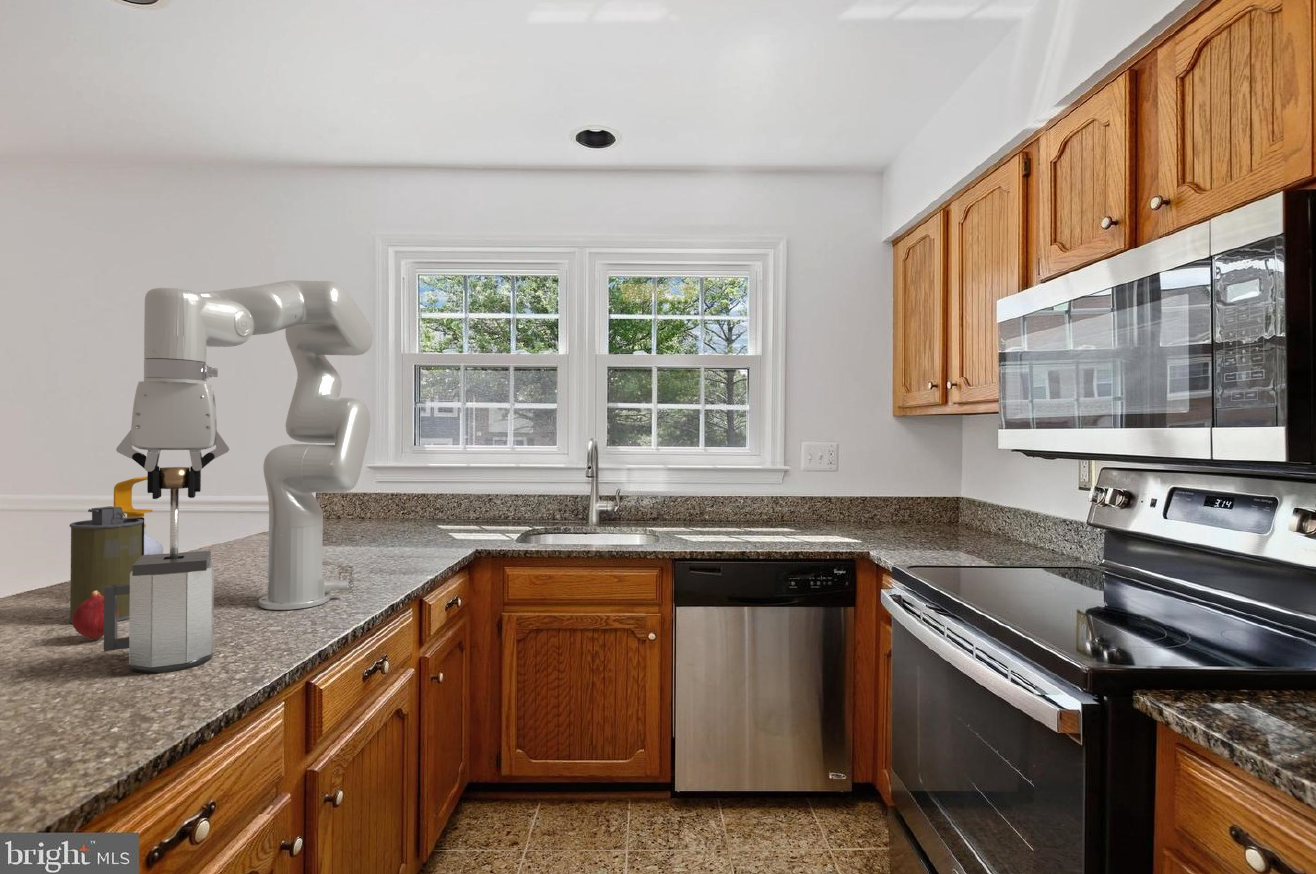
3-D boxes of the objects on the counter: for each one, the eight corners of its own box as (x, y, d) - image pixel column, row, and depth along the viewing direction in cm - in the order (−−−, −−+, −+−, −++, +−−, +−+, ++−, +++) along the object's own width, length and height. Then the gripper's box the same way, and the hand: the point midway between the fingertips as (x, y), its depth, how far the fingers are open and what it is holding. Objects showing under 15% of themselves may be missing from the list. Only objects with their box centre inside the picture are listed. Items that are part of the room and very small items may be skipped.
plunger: (202, 591, 104) (203, 466, 104) (198, 601, 98) (199, 468, 98) (149, 596, 101) (150, 466, 101) (142, 606, 95) (143, 469, 95)
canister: (92, 627, 116) (93, 512, 115) (54, 621, 119) (55, 508, 119) (158, 612, 126) (159, 505, 126) (121, 606, 129) (122, 503, 129)
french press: (214, 647, 106) (215, 549, 106) (210, 666, 98) (211, 560, 98) (111, 660, 100) (112, 556, 100) (97, 681, 92) (98, 568, 91)
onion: (127, 637, 111) (127, 588, 111) (87, 647, 106) (88, 596, 106) (103, 633, 113) (103, 585, 113) (63, 643, 107) (64, 593, 107)
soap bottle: (139, 604, 131) (140, 478, 131) (93, 603, 131) (94, 478, 131) (173, 593, 140) (174, 475, 140) (130, 592, 140) (131, 475, 140)
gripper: (242, 378, 107) (241, 493, 107) (109, 372, 98) (108, 497, 99) (240, 375, 100) (239, 498, 100) (98, 368, 92) (97, 502, 92)
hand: (174, 496), depth 100 cm, fingers closed on plunger, 3 cm apart
